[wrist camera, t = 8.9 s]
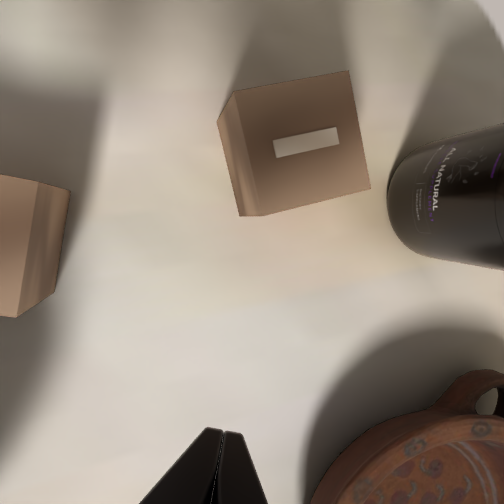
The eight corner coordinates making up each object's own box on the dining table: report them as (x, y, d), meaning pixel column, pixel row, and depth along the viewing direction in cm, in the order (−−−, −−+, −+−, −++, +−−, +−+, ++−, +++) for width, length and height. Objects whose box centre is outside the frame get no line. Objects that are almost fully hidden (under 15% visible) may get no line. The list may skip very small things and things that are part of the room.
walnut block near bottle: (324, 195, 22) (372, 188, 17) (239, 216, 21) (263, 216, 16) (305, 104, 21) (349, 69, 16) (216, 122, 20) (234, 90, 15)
